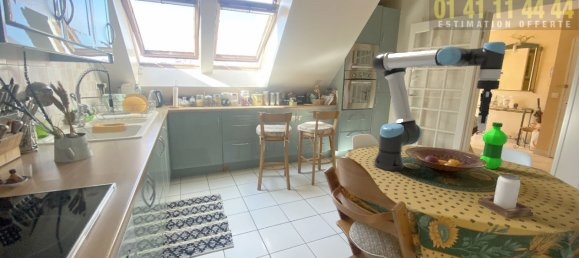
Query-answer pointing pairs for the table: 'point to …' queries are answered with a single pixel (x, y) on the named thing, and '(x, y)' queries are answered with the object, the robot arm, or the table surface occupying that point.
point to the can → (507, 191)
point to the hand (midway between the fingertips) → (480, 128)
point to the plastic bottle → (494, 146)
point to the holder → (517, 212)
